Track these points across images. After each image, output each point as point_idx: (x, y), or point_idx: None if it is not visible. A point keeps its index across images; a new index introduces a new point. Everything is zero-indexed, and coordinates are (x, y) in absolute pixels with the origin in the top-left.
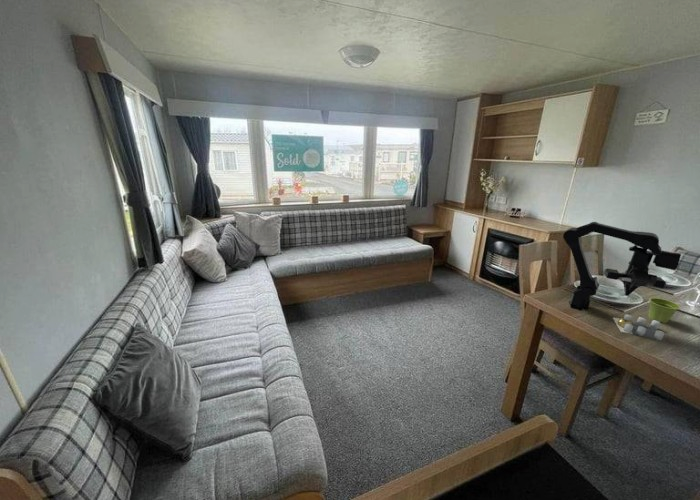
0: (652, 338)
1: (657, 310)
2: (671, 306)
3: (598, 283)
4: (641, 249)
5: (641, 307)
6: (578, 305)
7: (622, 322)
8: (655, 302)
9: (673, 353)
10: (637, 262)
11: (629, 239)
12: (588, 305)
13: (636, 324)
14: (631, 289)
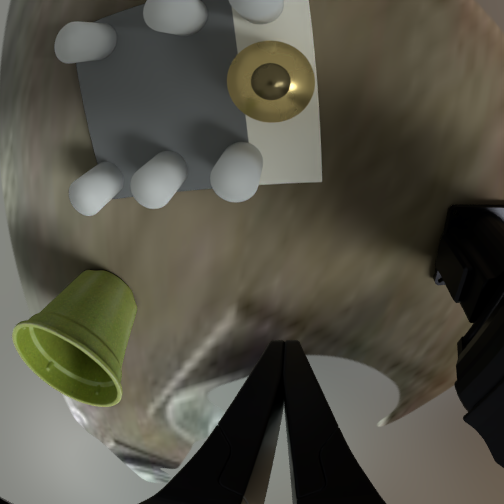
0: (125, 12)
1: (87, 317)
2: (55, 364)
3: (475, 424)
4: None
5: (165, 372)
6: (499, 221)
7: (294, 47)
8: (107, 383)
9: None
10: None
11: None
12: (452, 245)
13: (186, 159)
14: (256, 439)
